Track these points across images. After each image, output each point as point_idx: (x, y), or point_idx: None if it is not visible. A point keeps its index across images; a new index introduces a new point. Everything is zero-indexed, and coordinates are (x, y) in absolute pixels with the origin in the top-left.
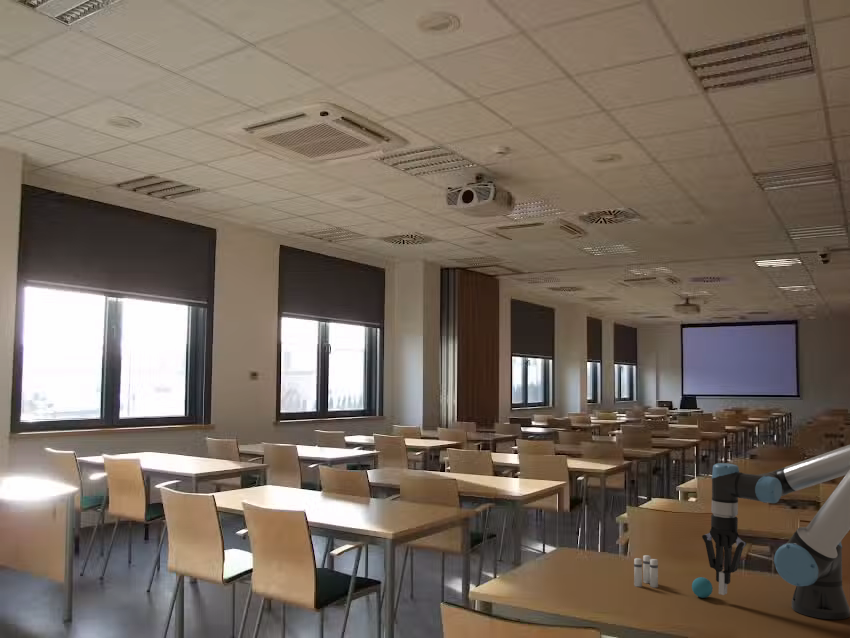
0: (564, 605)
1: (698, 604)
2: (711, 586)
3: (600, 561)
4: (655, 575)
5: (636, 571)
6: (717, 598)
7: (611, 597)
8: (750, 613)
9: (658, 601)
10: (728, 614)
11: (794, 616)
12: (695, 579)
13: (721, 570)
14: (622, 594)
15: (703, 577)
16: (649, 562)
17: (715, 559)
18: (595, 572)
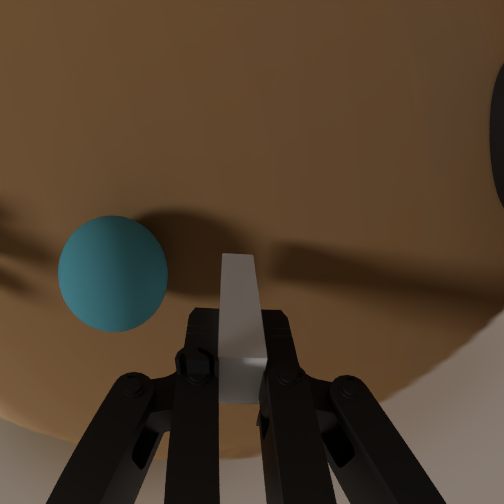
0: (46, 430)
1: (170, 335)
2: (159, 284)
3: None
4: None
5: None
6: (185, 197)
7: (23, 379)
8: (366, 313)
9: (80, 365)
10: (299, 365)
11: (485, 244)
12: (73, 312)
13: (219, 383)
14: (9, 351)
15: (89, 295)
16: None
17: (132, 442)
18: None
